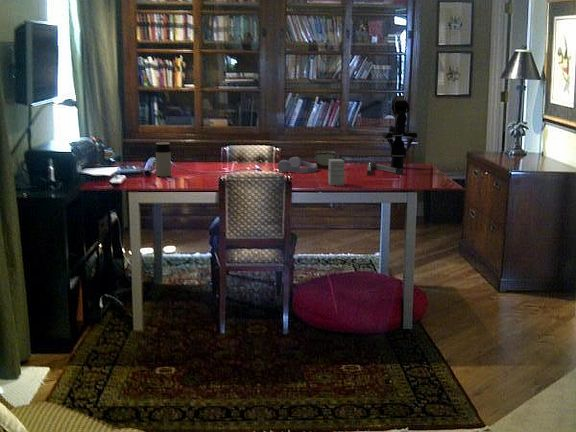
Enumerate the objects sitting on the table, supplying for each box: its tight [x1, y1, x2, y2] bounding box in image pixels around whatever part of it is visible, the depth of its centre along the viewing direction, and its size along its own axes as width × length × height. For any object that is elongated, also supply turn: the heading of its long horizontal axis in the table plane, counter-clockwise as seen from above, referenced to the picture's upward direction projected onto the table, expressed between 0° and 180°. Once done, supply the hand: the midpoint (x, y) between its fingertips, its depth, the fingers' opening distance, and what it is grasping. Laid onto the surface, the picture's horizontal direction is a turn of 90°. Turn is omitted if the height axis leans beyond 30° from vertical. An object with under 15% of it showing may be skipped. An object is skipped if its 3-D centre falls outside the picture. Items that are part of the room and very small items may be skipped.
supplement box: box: [327, 158, 345, 187], centre depth 406 cm, size 7×7×13 cm
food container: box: [314, 150, 337, 170], centre depth 463 cm, size 12×6×10 cm, turn 84°
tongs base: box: [366, 161, 377, 176], centre depth 451 cm, size 28×5×4 cm, turn 174°
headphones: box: [277, 156, 318, 174], centre depth 455 cm, size 22×7×20 cm
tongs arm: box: [374, 163, 405, 175], centre depth 451 cm, size 24×2×2 cm, turn 29°
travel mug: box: [155, 141, 172, 178], centre depth 432 cm, size 8×8×18 cm
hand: (399, 150), depth 449 cm, fingers open, 9 cm apart
